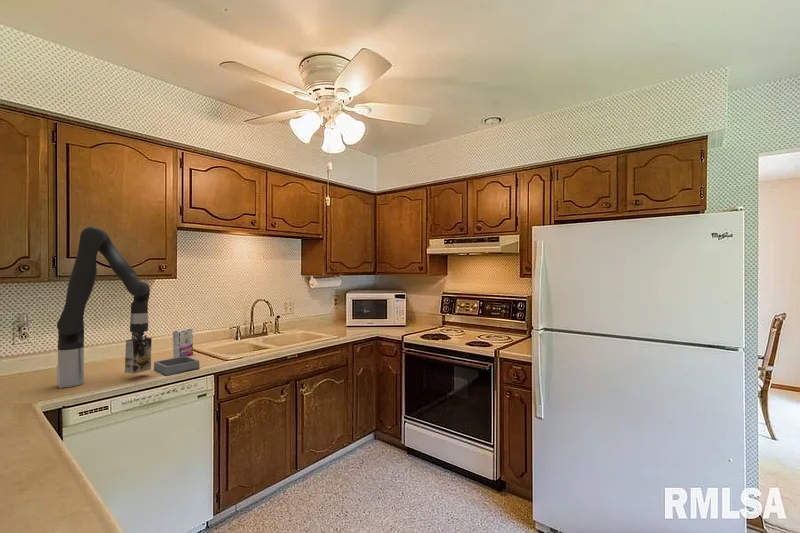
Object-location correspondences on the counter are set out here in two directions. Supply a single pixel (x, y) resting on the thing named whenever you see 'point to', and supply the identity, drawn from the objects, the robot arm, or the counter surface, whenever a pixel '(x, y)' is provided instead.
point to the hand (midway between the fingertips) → (138, 354)
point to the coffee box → (137, 357)
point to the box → (176, 365)
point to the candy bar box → (182, 343)
